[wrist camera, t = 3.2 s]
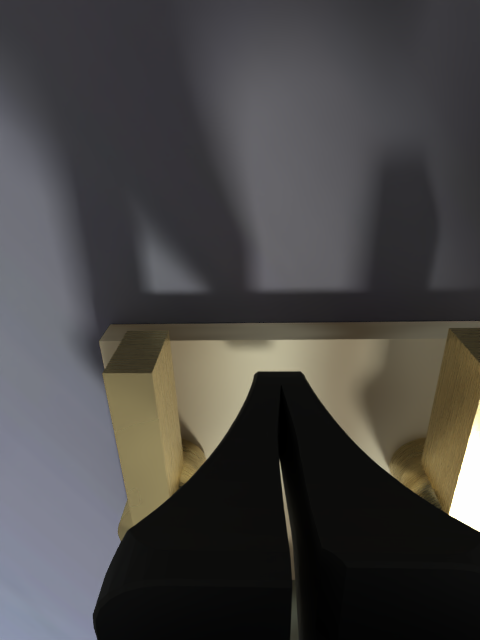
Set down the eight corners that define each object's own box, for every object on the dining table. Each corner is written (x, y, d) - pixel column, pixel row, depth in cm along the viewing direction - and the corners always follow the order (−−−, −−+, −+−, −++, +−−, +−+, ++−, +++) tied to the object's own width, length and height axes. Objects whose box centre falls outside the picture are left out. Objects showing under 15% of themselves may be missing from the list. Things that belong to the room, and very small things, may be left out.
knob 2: (497, 311, 13) (568, 371, 10) (451, 488, 16) (494, 572, 13) (414, 312, 13) (460, 371, 10) (385, 487, 16) (413, 571, 13)
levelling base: (524, 320, 14) (633, 406, 10) (426, 653, 23) (463, 771, 19) (110, 324, 15) (54, 406, 11) (168, 647, 24) (150, 760, 20)
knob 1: (194, 315, 13) (176, 373, 10) (208, 486, 16) (198, 567, 13) (116, 315, 13) (78, 373, 10) (146, 485, 16) (122, 565, 13)
